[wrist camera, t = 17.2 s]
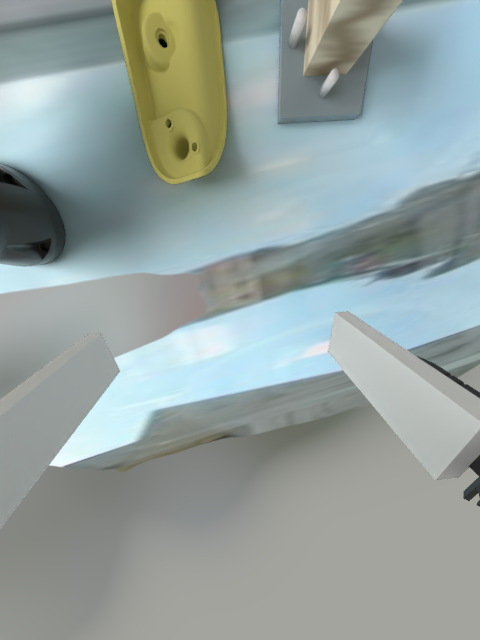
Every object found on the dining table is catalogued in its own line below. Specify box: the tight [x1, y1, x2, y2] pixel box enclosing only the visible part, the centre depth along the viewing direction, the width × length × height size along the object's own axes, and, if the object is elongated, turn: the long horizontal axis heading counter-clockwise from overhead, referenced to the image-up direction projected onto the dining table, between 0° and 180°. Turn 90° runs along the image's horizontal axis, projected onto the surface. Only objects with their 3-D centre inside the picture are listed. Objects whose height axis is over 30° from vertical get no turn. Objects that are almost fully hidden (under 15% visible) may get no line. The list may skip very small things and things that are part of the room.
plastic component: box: [112, 0, 227, 184], centre depth 25 cm, size 20×7×10 cm
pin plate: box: [278, 0, 373, 123], centre depth 23 cm, size 12×14×4 cm
